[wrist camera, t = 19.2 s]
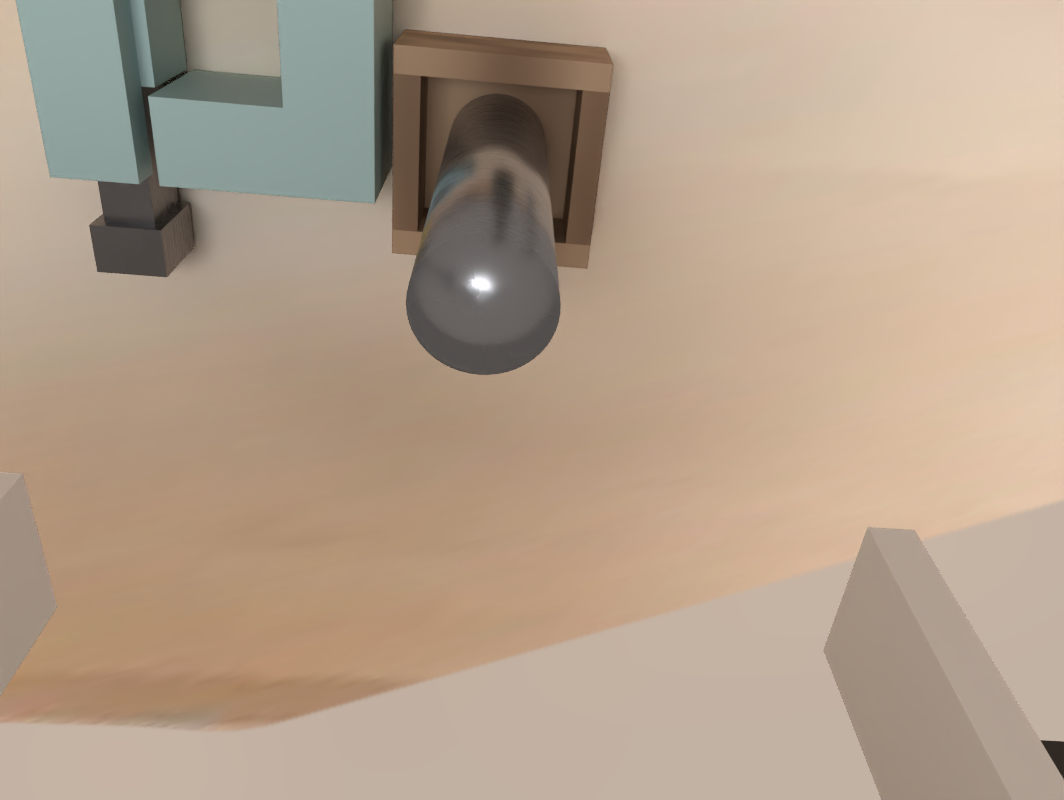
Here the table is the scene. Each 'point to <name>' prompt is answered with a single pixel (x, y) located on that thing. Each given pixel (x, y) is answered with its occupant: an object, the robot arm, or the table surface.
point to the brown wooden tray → (513, 69)
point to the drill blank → (488, 244)
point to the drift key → (141, 222)
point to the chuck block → (215, 99)
